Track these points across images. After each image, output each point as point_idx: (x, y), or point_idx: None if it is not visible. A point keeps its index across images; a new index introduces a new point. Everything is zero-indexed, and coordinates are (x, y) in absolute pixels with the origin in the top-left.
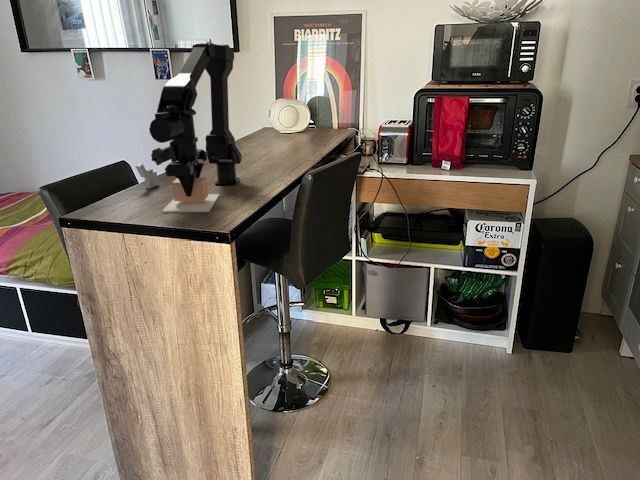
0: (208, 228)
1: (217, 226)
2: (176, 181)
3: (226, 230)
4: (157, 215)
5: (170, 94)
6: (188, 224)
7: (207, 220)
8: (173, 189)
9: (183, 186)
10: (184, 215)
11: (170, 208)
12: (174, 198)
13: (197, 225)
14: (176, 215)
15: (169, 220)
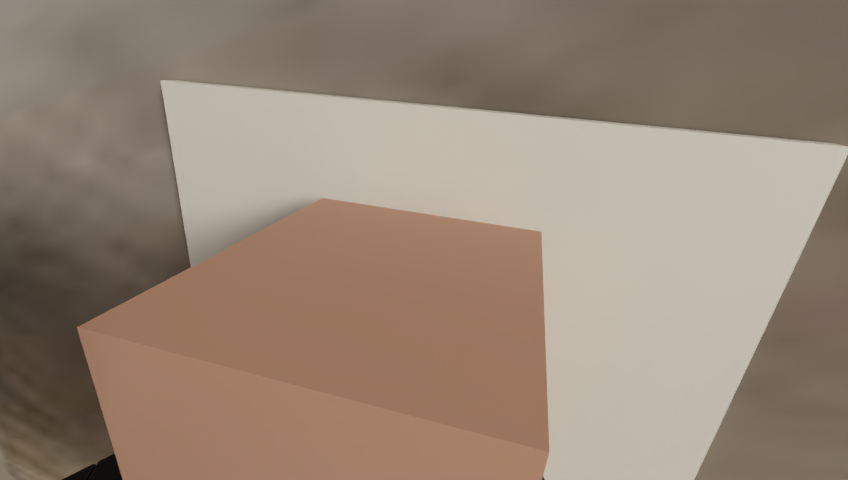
0: (5, 406)
1: (37, 443)
2: (198, 425)
3: (11, 467)
4: (109, 48)
5: None
6: (17, 316)
7: (95, 411)
8: (211, 268)
9: (116, 468)
10: (147, 285)
11: (233, 157)
12: (301, 213)
13: (20, 361)
14: (137, 226)
15: (38, 188)
